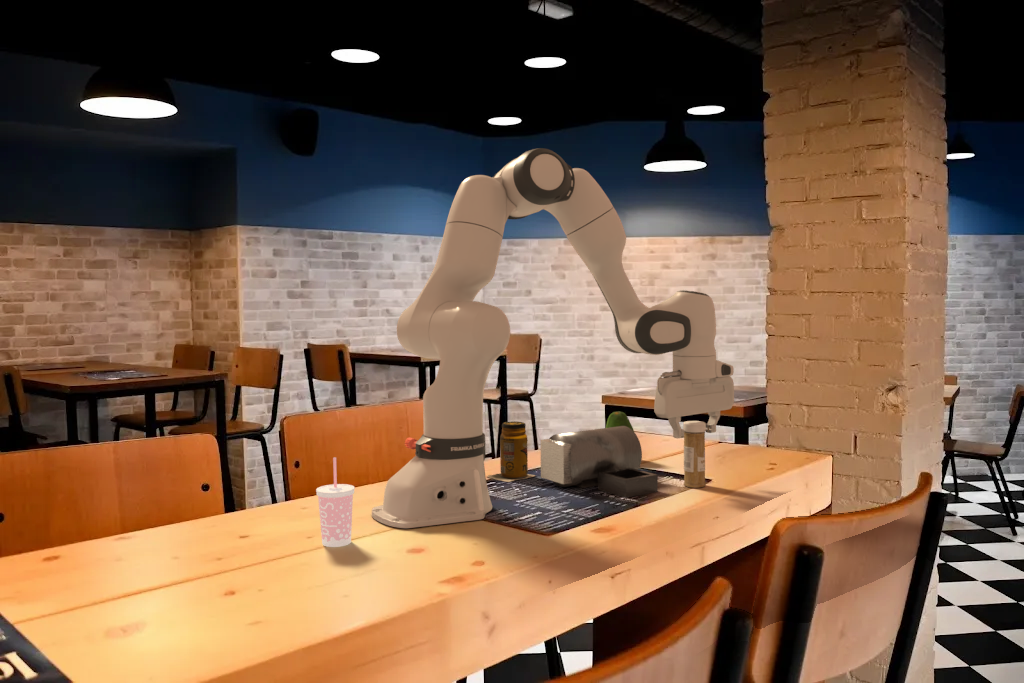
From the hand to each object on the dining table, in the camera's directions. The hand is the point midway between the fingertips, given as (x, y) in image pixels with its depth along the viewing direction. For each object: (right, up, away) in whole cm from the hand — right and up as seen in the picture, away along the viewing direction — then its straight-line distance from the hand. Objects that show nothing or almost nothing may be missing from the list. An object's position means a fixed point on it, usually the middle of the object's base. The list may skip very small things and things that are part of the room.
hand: (694, 435), depth 170 cm
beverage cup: (-67, -14, -37) cm, 77 cm away
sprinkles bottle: (0, -11, 0) cm, 11 cm away
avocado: (-12, -10, +27) cm, 31 cm away
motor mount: (-18, -11, +2) cm, 21 cm away
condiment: (-38, -11, +11) cm, 41 cm away
